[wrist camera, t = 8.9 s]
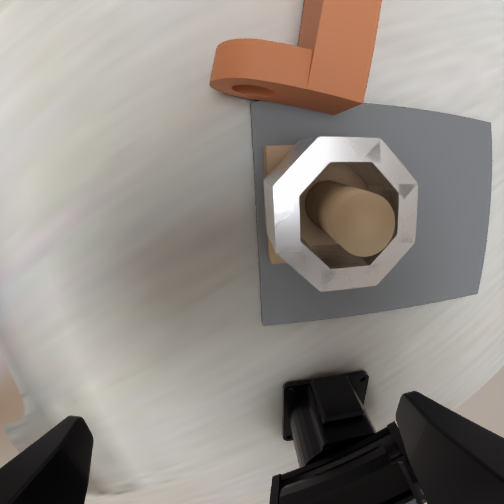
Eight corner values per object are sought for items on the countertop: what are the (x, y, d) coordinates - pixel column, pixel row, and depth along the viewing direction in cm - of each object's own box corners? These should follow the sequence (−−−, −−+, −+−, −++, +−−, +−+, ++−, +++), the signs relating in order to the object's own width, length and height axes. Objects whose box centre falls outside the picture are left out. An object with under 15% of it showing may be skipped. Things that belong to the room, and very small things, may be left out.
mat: (473, 290, 21) (477, 293, 20) (261, 320, 20) (262, 325, 19) (485, 122, 17) (490, 122, 16) (250, 103, 16) (250, 101, 16)
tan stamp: (367, 247, 18) (424, 291, 12) (268, 255, 18) (288, 308, 12) (368, 146, 17) (433, 146, 10) (263, 146, 16) (283, 141, 10)
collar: (380, 257, 17) (410, 281, 14) (267, 267, 17) (277, 296, 13) (382, 141, 15) (417, 140, 12) (261, 141, 15) (270, 137, 11)
